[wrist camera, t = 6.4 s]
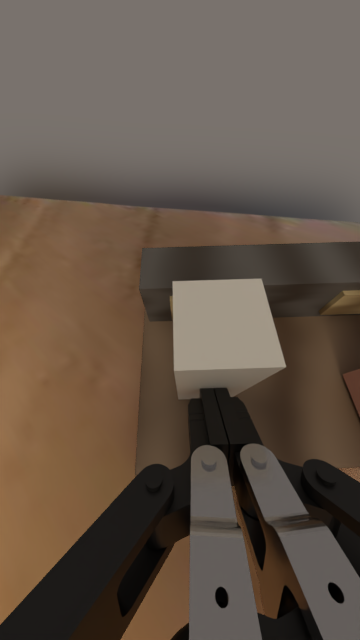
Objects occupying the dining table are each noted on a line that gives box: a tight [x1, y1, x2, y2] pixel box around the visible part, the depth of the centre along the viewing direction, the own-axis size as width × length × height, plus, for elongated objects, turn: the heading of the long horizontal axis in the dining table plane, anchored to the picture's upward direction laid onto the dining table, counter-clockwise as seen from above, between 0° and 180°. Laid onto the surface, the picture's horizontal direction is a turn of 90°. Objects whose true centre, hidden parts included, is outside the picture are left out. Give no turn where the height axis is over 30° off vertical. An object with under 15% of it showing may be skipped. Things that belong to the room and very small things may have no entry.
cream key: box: [172, 279, 286, 400], centre depth 12 cm, size 4×4×9 cm
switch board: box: [135, 242, 360, 475], centre depth 15 cm, size 23×16×6 cm
